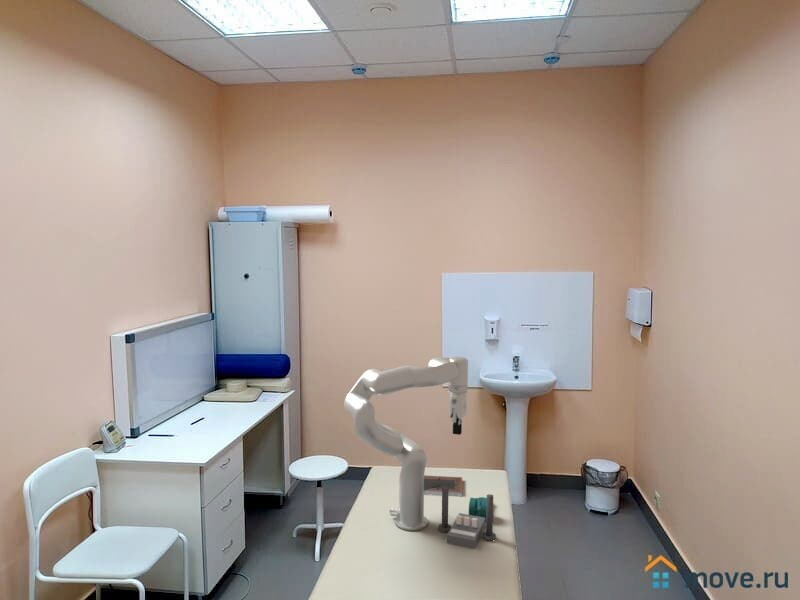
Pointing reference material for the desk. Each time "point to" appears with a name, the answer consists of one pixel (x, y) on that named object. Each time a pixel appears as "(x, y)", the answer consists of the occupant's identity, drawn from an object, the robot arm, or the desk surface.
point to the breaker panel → (466, 532)
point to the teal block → (478, 507)
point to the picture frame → (442, 485)
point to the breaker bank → (466, 521)
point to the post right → (489, 520)
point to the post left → (444, 512)
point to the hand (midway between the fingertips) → (457, 433)
